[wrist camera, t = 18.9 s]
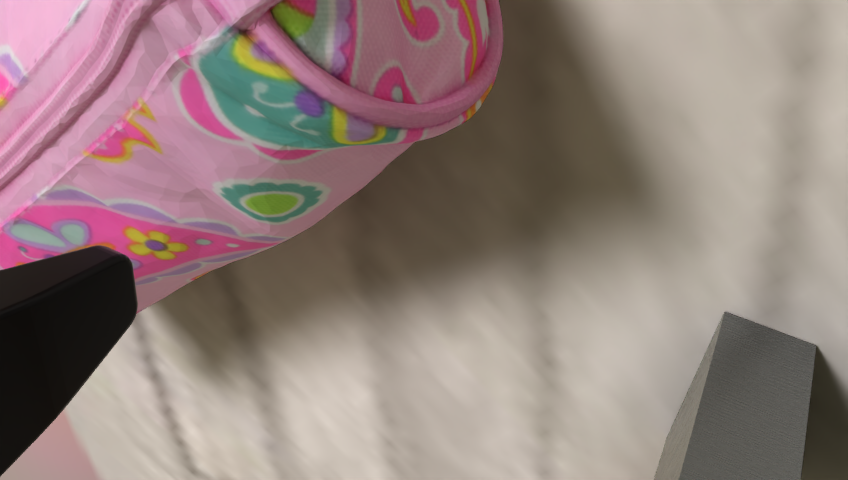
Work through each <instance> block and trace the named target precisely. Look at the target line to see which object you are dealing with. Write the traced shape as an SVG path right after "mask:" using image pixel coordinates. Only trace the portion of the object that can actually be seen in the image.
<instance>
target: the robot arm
mask: <svg viewBox="0 0 848 480" xmlns="http://www.w3.org/2000/svg"><path fill="white" fill-rule="evenodd" d="M137 309H138V300H137V293H136V286H135V278H134V271H133V265H132V262H131V260H130V259H129V257H128V256H126V255H124V254H122V253H120V252H118V251H115V250H113V249H111V248H109V247H106V246H102V245H96V246H91V247H87V248H83V249H80V250H76V251H72V252H68V253H64V254H60V255H56V256H53V257H49V258H45V259H41V260H37V261H33V262H30V263H26V264H22V265H18V266H14V267H10V268H6V269H3V270H0V476H1V475H2V474H3V473H4V472H5V471H6V470H7V469H8V468H9V467H10V466H11V465H12V464H13V463H14V462H15V461H16V460H17V459H18V458H19V457H20V456H21V455H22V454H23V452H24V451H25V450H26V449H27V448H28V447H29V446H30V445H31V444H32V443H33V442H34V441H35V440H36V439H37V438H38V437H39V436H40V435H41V434H42V433H43V432H44V431H45V429H47V427H48V426H49V425H50V424H51V423H52V422H53V421H54V420H55V419H56V418H57V416H58V415H59V414H60V413H61V412H62V411H63V409H64V408H65V407H66V406H67V405H68V403H69V402H70V401H71V400H72V399H73V397H74V396H75V395H76V393H77V392H78V391H79V390H80V388H81V387H82V386H83V385H84V383H85V382H86V381H87V380H88V378H89V377H90V376H91V375H92V373H93V372H94V371H95V369H96V368H97V367H98V366H99V364H100V363H101V362H102V361H103V359H104V358H105V357H106V356H107V354H108V353H109V352H110V351H111V349H112V348H113V347H114V346H115V344H116V343H117V342H118V340H119V339H120V338H121V337H122V335H123V334H124V333H125V332H126V330H127V329H128V328H129V327H130V325H131V324H132V322H133V320H134V318H135V316H136V313H137Z"/></svg>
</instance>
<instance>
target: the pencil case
mask: <svg viewBox="0 0 848 480" xmlns="http://www.w3.org/2000/svg"><path fill="white" fill-rule="evenodd" d="M502 50H503V23H502V15H501V9H500V5H499V0H0V270H3V269H6V268H10V267H14V266H18V265H22V264H26V263H30V262H33V261H37V260H41V259H45V258H49V257H53V256H56V255H60V254H64V253H68V252H72V251H76V250H80V249H83V248H87V247H91V246H96V245H102V246H106V247H109V248H111V249H113V250H115V251H118V252H120V253H122V254H124V255H126V256H128V257H129V259H130V260H131V262H132V265H133V271H134V278H135V286H136V293H137V300H138V309H137V313H138V312H140V311H142V310H144V309H145V308H147V307H149V306H150V305H152V304H154V303H156V302H158V301H160V300H162V299H163V298H165V297H167V296H168V295H170V294H171V293H173V292H174V291H176V290H178V289H179V288H181V287H183V286H185V285H186V284H188V283H190V282H192V281H193V280H195V279H197V278H199V277H201V276H203V275H205V274H206V273H208V272H210V271H212V270H214V269H217V268H220V267H223V266H225V265H227V264H229V263H232V262H234V261H237V260H241V259H244V258H247V257H249V256H252V255H254V254H257V253H259V252H262V251H264V250H267V249H269V248H272V247H274V246H276V245H278V244H280V243H282V242H284V241H286V240H288V239H290V238H292V237H294V236H296V235H298V234H299V233H301V232H303V231H305V230H307V229H308V228H310V227H311V226H313V225H314V224H316V223H317V222H319V221H320V220H321V219H323V218H324V217H325V216H327V215H328V214H329V213H330V212H331V211H333V210H334V209H335V208H336V207H338V206H339V205H340V204H342V203H343V202H344V201H346V200H347V199H349V198H350V197H351V196H353V195H354V194H355V193H357V192H358V191H360V190H361V189H362V188H363V187H365V186H366V185H367V184H368V183H369V182H370V181H372V180H373V179H374V178H375V177H376V176H377V175H378V174H379V173H381V172H382V171H383V170H384V169H385V168H386V166H387V165H388V164H389V163H390V162H392V161H393V160H394V159H395V158H397V157H398V156H399V155H401V154H402V153H403V152H404V151H405V150H407V149H408V148H409V147H410V146H411V145H412V144H413V143H414V142H417V141H421V140H425V139H429V138H433V137H436V136H438V135H441V134H443V133H445V132H447V131H449V130H451V129H453V128H455V127H457V126H459V125H461V124H463V123H464V122H466V121H467V120H469V119H470V118H471V117H472V116H473V115H474V114H475V113H476V112H477V111H478V109H479V108H480V107H481V106H482V104H483V102H484V100H485V99H486V97H487V95H488V94H489V92H490V90H491V89H492V87H493V84H494V81H495V78H496V75H497V71H498V68H499V65H500V62H501V56H502ZM137 313H136V314H137Z"/></svg>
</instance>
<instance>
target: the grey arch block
mask: <svg viewBox="0 0 848 480" xmlns="http://www.w3.org/2000/svg"><path fill="white" fill-rule="evenodd" d="M815 353H816V345H813V344H811V343H808V342H805V341H802V340H800V339H797V338H794V337H792V336H789V335H786V334H784V333H781V332H778V331H776V330H773V329H770V328H768V327H765V326H762V325H759V324H757V323H754V322H751V321H749V320H746V319H743V318H741V317H738V316H735V315H733V314H730V313H727V312H724V314H723V317H722V319H721V321H720V323H719V325H718V327H717V330H716V332H715V334H714V336H713V338H712V340H711V343H710V345H709V347H708V349H707V351H706V354H705V356H704V358H703V360H702V362H701V364H700V367H699V369H698V371H697V373H696V375H695V377H694V380H693V382H692V384H691V386H690V388H689V391H688V393H687V395H686V397H685V399H684V401H683V404H682V406H681V408H680V410H679V412H678V414H677V417H676V419H675V421H674V423H673V425H672V428H671V430H670V432H669V434H668V436H667V439H666V442H665V445H664V448H663V452H662V455H661V458H660V461H659V465H658V468H657V471H656V475H655V478H654V480H801V472H802V464H803V455H804V446H805V438H806V429H807V421H808V412H809V404H810V395H811V387H812V378H813V370H814V361H815Z"/></svg>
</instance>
